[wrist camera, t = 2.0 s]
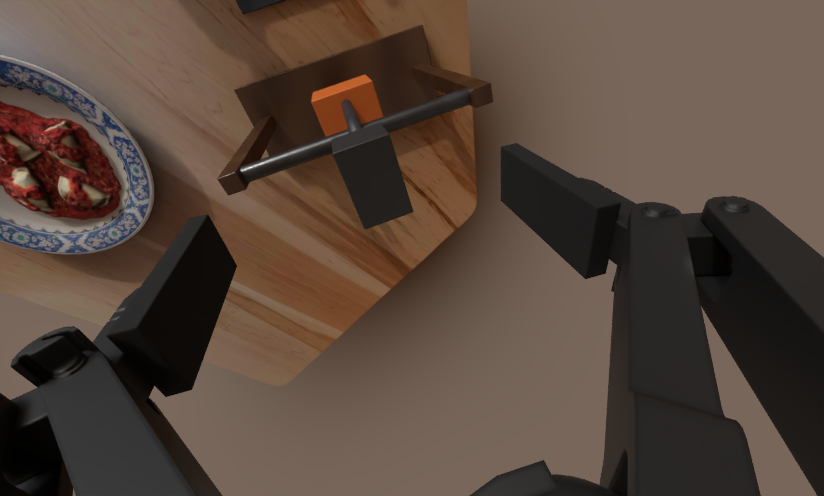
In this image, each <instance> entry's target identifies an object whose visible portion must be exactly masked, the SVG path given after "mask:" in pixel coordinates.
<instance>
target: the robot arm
mask: <svg viewBox="0 0 824 496" xmlns="http://www.w3.org/2000/svg"><path fill="white" fill-rule="evenodd" d="M501 201H502V202H503V203H504V204H505V205H506V206H507V207H509V208H510V209H511V210H512V211H513V212H514V213H515V214H516V215H517V216H518V217H519V218H520V219H522V221H524V222H525V223H526V224H527V225H528V226H529V227H530V228H531V229H532V230H533V231H534V232H535V233H537V234H538V235H539V236H540V237H541V238H542V239H543V240H544V241H545V242H546V243H547V244H548V245H549V246H551V247H552V248H553V249H554V250H555V251H556V252H557V253H558V254H559V255H560V256H561V257H562V258H563V259H564V260H565V261H567V262H568V263H569V264H570V265H571V266H572V267H573V268H574V269H575V270H576V271H578V273H579V274H580V275H582V276H583V277H584V278H585V279H587V278H591V277H595V276H598V275H602V274H605V273H606V269H607V265H608V261H609V259H610V260H611V261H612V262H614V263H615V264H617V269H616V273H615V278H614V281H613V286H612V290H611V291H613V292H614V303H613V319H612V336H611V337H612V338H611V353H610V368H609V385H608V401H607V418H606V434H605V451H604V461H603V468H602V473H601V478H600V485H598V484H595V483H593V482H590V481H587V480H584V479H580V478H576V477H573V476H565V475H551V473H550V471H549V469H548V467H547V465H546V463H545V462H544V460H543V461H540V462H537V463H534V464H531V465H528V466H525V467H522V468H519V469H516V470H513V471H510V472H507V473H504V474H501V475H498V476H496V477H495V478H493V479H492V480H490V481H489V482H488V483H486V484H485V485H484V486H482V487H481V488H479V489H478V490H477V491H475V492H474V493H473V494H471V495H470V496H761V495H760V491H759V487H758V483H757V479H756V475H755V471H754V467H753V463H752V459H751V454H750V450H749V447H748V442H747V439H746V436H745V433H744V431H743V428H742V427H741V425H740V424H739V423H738V422H737V421H736V420H732V419H729V418H726V417H725V416H724V414H723V411H722V407H721V402H720V397H719V392H718V387H717V383H716V378H715V373H714V368H713V363H712V358H711V353H710V349H709V344H708V339H707V335H706V329H705V324H704V319H703V314H702V309H701V306H702V308H703V310H704V311H705V313H706V314H707V316H708V318H709V320H710V321H711V323H712V324H713V326H714V328H715V329H716V331H717V333H718V334H719V336H720V337H721V339H722V341H723V342H724V344H725V345H726V347H727V349H728V351H729V352H730V354H731V355H732V357H733V359H734V360H735V362H736V364H737V365H738V367H739V368H740V370H741V371H742V373H743V375H744V377H745V378H746V380H747V381H748V383H749V385H750V386H751V388H752V390H753V391H754V393H755V394H756V396H757V398H758V399H759V401H760V403H761V404H762V406H763V408H764V409H765V411H766V412H767V414H768V416H769V417H770V419H771V420H772V422H773V424H774V425H775V427H776V429H777V430H778V432H779V434H780V435H781V437H782V438H783V440H784V442H785V443H786V445H787V447H788V448H789V450H790V451H791V453H792V455H793V457H794V458H795V460H796V461H797V463H798V464H799V466H800V468H801V470H802V471H803V473H804V474H805V476H806V478H807V479H808V481H809V483H810V484H811V486H812V487H813V489H814V491H815V492H816V494H817V496H824V258H823V257H822V256H821V255H820V254H819V253H817V252H816V251H815V250H814V249H813V248H811V247H810V246H809V245H808V244H807V243H805V242H804V241H803V240H802V239H801V238H799V237H798V236H797V235H795V233H793V232H792V231H791V230H790V229H788V228H787V227H786V226H785V225H784V224H783V223H781V222H780V221H779V220H778V219H777V218H775V217H774V216H773V215H772V214H770V213H769V212H768V211H767V210H766V209H765V208H763V207H762V206H761V205H759V204H757V203H755V202H753V201H750V200H747V199H745V198H741V197H739V198H738V197H735V196H731V197H724V196H723V197H714V198H712V199H709V200H708V201H707V202H706V204H705V207H704V209H703V212H702V213H691V214H681V212H680V211H679V210H678V209H676V208H675V207H673V206H670V205H667V204H662V203H656V202H645V203H639V204H635V203H634V202H632V201H630V200H628V199H626V198H624V197H623V196H621V195H619V194H617V193H615V192H612V190H610V189H608V188H604V186H602V185H601V184H599V183H597V182H595V181H592V180H588V179H584V178H577V177H575V176H574V175H572V174H570V173H568V172H566V171H565V170H563V169H561V168H559V167H558V166H555V165H554V164H552V163H550V162H549V161H547V160H545V159H543V158H542V157H540V156H538V155H536V154H535V153H533V152H531V151H529V150H527V149H526V148H523V147H522V146H520V145H519V144H517V143H515V144H511V145H507V146H503V147H501ZM236 267H237V265H236V263H235V261H234V260H233V258H232V256H231V254H230V253H229V251H228V249H227V247H226V245H225V244H224V242H223V240H222V238H221V236H220V235H219V233H218V231H217V229H216V227H215V226H214V224H213V222H212V220H211V219H210V217H209V215H203V216H199V217H195V218H190V219H189V220H188V221H187V223H186V224H185V226H184V227H183V228H182V230H181V231H180V233H179V234H178V235H177V237H176V238H175V240H174V241H173V242H172V244H171V245H170V247H169V248H168V249H167V251H166V252H165V254H164V255H163V256H162V258H161V259H160V261H159V262H158V263H157V265H156V266H155V268H154V269H153V270H152V272H151V273H150V275H149V276H148V277H147V279H146V280H145V282H144V283H143V284H142V286H141V287H140V288H137V289H136V290H135V291H134V292H133V293H131V294H130V295H129V296H128V297H127V298H126V299H124V301H123V302H122V303H121V305H120V306H119V307H118V309H117V310H116V311H117V312H115V313H114V314H113V315H112V317H111V318H110V322H107V324H106V325H105V326H104V328H103V329H102V330H101V332H100V333H99V334H98V336H97V337H96V339H95V340H94V341H93V342H91V341H90V340H89V339H88V338H87V337H86V336H85V335H84V334H83V333H82V332H81V331H80V330H79V329H77V328H76V327H74V326H72V327H64V328H60V329H57V330H54V331H52V332H50V333H48V334H45V335H43V336H41V337H40V338H38V339H36V340H35V341H33V342H32V343H30V344H29V345H27V346H26V347H25V348H24V349H22V350H21V351H20V352H19V353H18V354H17V355H16V356H15V358H14V359H13V360H12V363H11V367H12V368H13V369H14V370H16V371H17V372H18V373H19V374H21V375H22V376H23V377H25V378H26V379H27V380H29V381H30V382H31V383H33V384H34V385H35V386H37V387H38V388H36V389H34V390H32V391H30V392H27V393H25V394H23V395H21V396H19V397H16V398H14V399H12V400H9V399H8V398H7V397H5V396H4V395H2V394H1V393H0V496H72V495H73V488H74V491H75V494H76V496H222V495H221V493H220V492H219V490H218V489H217V488H216V486H215V485H214V484H213V482H212V481H211V480H210V478H209V477H208V475H207V474H206V473H205V471H204V470H203V468H202V467H201V466H200V464H199V463H198V462H197V460H196V459H195V457H194V456H193V455H192V453H191V452H190V451H189V449H188V448H187V447H186V445H185V444H184V442H183V441H182V440H181V438H180V437H179V435H178V434H177V433H176V431H175V430H174V429H173V427H172V426H171V424H170V423H169V422H168V420H167V419H166V418H165V416H164V415H163V413H162V412H161V411H160V410H159V408H158V407H157V405H156V404H155V403H154V402H153V401H152V400H151V399H150V398H149V396H150V394H151V391H152V389H153V387H154V385H155V386H156V387H157V388H158V389H159V390H160V391H161V393H163V395H164V396H165V397H167V396H171V395H175V394H178V393H182V392H185V391H189V390H192V388H193V385H194V383H195V380H196V377H197V374H198V372H199V369H200V366H201V363H202V361H203V358H204V355H205V352H206V350H207V347H208V344H209V341H210V339H211V336H212V333H213V330H214V328H215V325H216V322H217V319H218V317H219V314H220V311H221V308H222V306H223V303H224V300H225V297H226V295H227V292H228V289H229V287H230V284H231V281H232V278H233V276H234V273H235V270H236Z"/></svg>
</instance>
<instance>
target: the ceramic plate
mask: <svg viewBox="0 0 824 496" xmlns="http://www.w3.org/2000/svg"><path fill="white" fill-rule="evenodd" d="M153 202H154V181H153V176H152V172H151V169H150V166H149V164H148V161H147V159H146V157H145V155H144V153H143V151H142V149H141V147H140V146H139V144H138V143H137V141H136V140H135V138H134V137H133V136H132V134H131V133H130V131H129V130H128V129H127V128H126V127H125V126H124V124H123V123H122V122H121V121H120V120H119V119H118V118H117V117H116V116H115V115H114V114H113V113H112V112H111V111H110V110H109V109H107V108H106V107H105V106H104V105H103V104H102V103H100V102H99V101H98V100H97V99H95V98H94V97H93V96H91V95H90V94H88V93H87V92H85V91H84V90H83V89H81V88H80V87H78V86H76V85H75V84H73V83H71V82H69V81H68V80H66V79H64V78H62V77H60V76H58V75H56V74H54V73H52V72H50V71H48V70H45V69H43V68H41V67H38V66H36V65H33V64H30V63H27V62H25V61H22V60H18V59H15V58H11V57H7V56H3V55H0V241H1V242H4V243H6V244H10V245H13V246H16V247H19V248H23V249H28V250H32V251H38V252H43V253H51V254H65V255H78V254H88V253H95V252H99V251H103V250H107V249H110V248H113V247H115V246H118V245H120V244H122V243H124V242H125V241H127V240H129V239H130V238H131V237H133V236H134V235H135V234H136V233H137V232H138V231H140V229H141V228H142V227H143V225H144V224H145V223H146V221H147V219H148V218H149V215H150V213H151V211H152V207H153Z"/></svg>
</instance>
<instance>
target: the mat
mask: <svg viewBox="0 0 824 496" xmlns="http://www.w3.org/2000/svg"><path fill="white" fill-rule="evenodd" d="M281 1H284V0H237V3H238V5H239V7H240V9H241V11H242V13H243V14H245V13H248V12H251V11H254V10H257V9H260V8H263V7H266V6H269V5H272V4H275V3H278V2H281Z"/></svg>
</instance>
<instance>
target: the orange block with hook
mask: <svg viewBox="0 0 824 496" xmlns="http://www.w3.org/2000/svg"><path fill="white" fill-rule="evenodd" d="M311 103H312V105H313V107H314V110H315V112H316V114H317V117H318V119H319V122H320V124H321V126H322V129H323V131H324V133H325V136H326V137H327V136H329V135H332V134H335V133H338V132H341V131H344V130H346V129H348V130H349V133H348V134H345V135H342V136H339V137H336V138H333V139H331V141H332V152H333V156H334V158H335V161H336V163H337V165H338V168H339V170H340V173H341V175H342V177H343V180H344V182H345V184H346V187H347V189H348V191H349V194H350V196H351V198H352V201H353V203H354V206H355V208H356V210H357V213H358V215H359V217H360V220H361V222H362V224H363V227H364V229H368V228H370V227H373V226H376V225H379V224H381V223H384V222H387V221H390V220H392V219H395V218H398V217H401V216H404V215H406V214H409V213H412V212H413V209H412V206H411V203H410V199H409V196H408V193H407V190H406V186H405V183H404V180H403V177H402V174H401V170H400V167H399V164H398V161H397V158H396V154H395V151H394V148H393V145H392V142H391V138H390V135H389V133H388V132H387V130H386V129H385V127H384V126H383V124H382V123H381V122H379V123H376V124H373V125H370V126H368V127H365V128H363V127H362V125H361V124H364V123H366V122H369V121H372V120H375V119H378V118H381V117H383V114H382V110H381V107H380V104H379V101H378V98H377V94H376V91H375V88H374V85H373V82H372V80H371V79H370V78H368V77H367V76H366V75H362V76H359V77H356V78H353V79H350V80H347V81H344V82H341V83H339V84H336V85H333V86H330V87H327V88H324V89H321V90H318V91H315V92H313V94H312V101H311Z"/></svg>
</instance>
